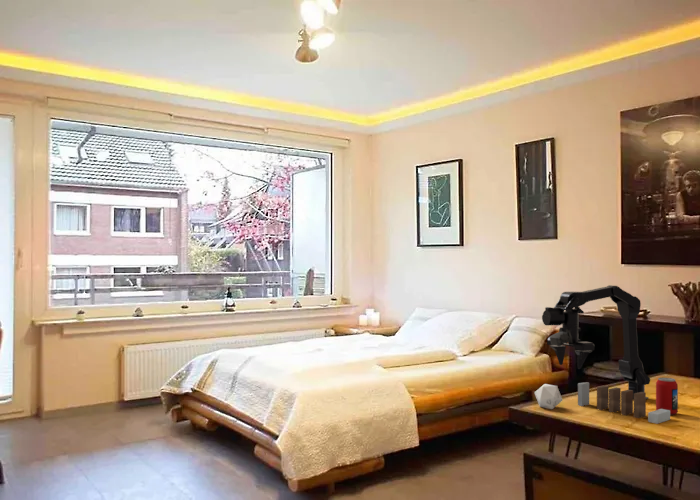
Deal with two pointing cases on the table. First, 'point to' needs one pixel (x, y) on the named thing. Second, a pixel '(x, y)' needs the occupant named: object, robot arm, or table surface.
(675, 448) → the table surface
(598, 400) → the tile
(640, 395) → the tile
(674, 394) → the beverage can
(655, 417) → the block
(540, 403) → the die
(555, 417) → the table surface
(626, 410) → the tile
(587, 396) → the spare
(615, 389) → the tile
